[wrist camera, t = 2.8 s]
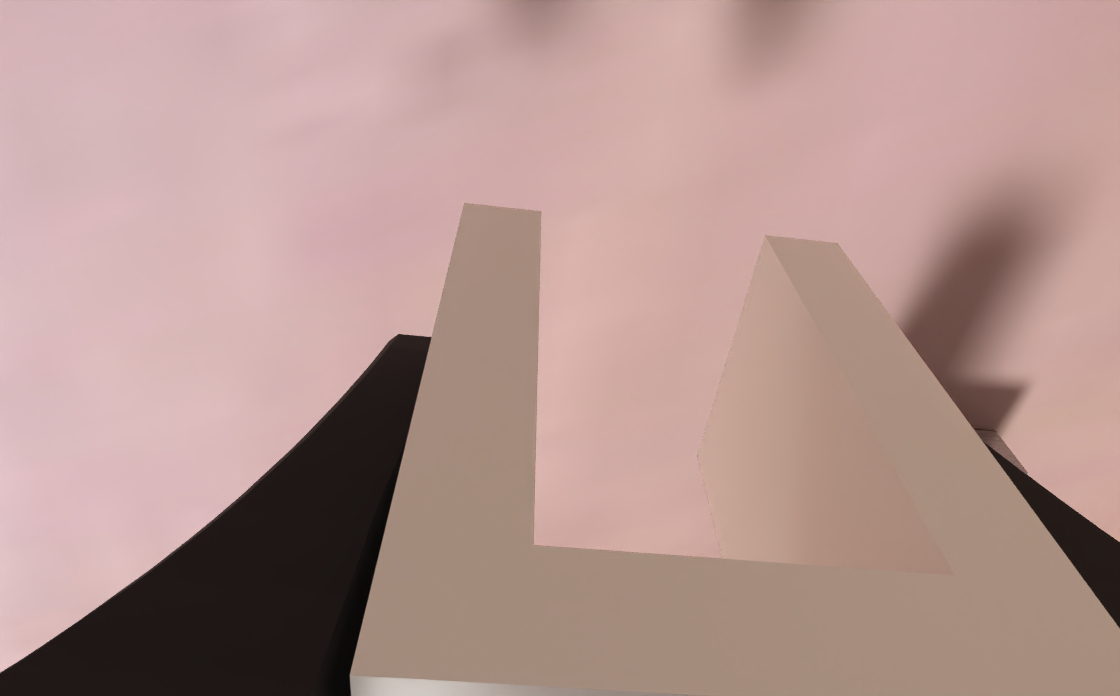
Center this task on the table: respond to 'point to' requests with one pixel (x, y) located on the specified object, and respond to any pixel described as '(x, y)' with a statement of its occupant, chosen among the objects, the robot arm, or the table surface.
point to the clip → (722, 519)
